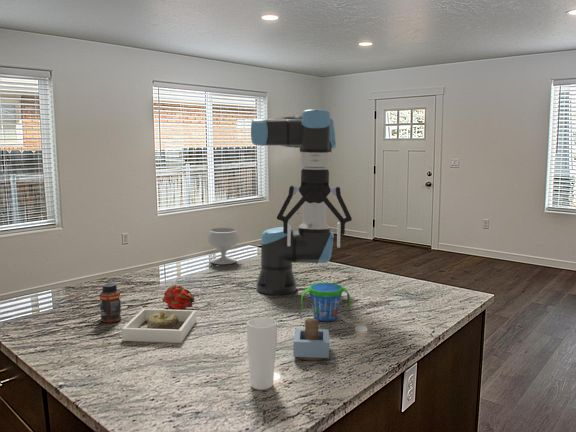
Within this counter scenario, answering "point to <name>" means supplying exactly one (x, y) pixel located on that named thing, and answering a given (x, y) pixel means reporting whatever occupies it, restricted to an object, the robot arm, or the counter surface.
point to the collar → (311, 344)
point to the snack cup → (325, 300)
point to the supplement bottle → (110, 303)
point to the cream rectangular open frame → (159, 335)
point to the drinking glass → (261, 351)
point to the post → (311, 335)
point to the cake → (163, 321)
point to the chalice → (223, 243)
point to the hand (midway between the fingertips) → (313, 246)
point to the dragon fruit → (178, 298)
